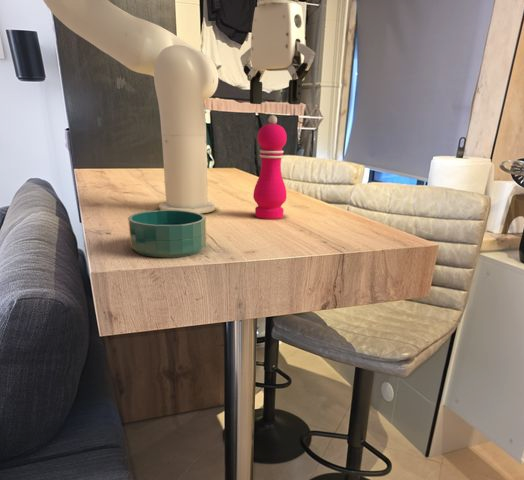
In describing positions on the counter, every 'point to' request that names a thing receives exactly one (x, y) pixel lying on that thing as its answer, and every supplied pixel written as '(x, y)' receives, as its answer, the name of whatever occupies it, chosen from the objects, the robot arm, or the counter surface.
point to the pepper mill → (270, 172)
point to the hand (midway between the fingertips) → (274, 104)
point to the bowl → (167, 233)
